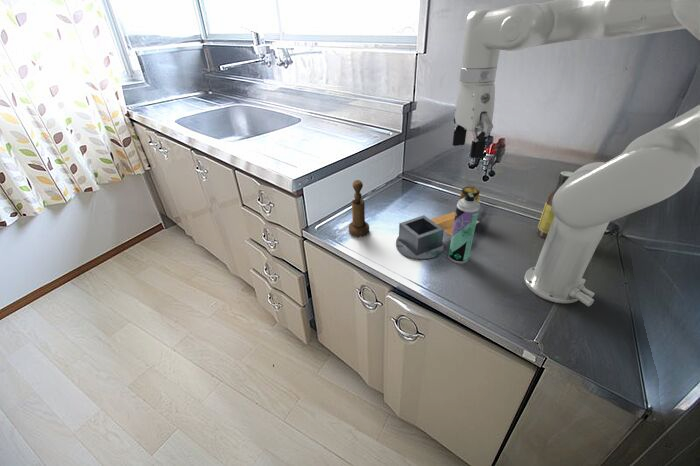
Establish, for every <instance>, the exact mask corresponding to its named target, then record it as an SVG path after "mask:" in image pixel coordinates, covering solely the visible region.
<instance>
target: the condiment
mask: <svg viewBox="0 0 700 466" xmlns="http://www.w3.org/2000/svg"><path fill="white" fill-rule="evenodd" d="M480 192H481V191H480V189H479V188H477V187H475V186H465V187H462V189H461V193H460V195H459V197H458V201H459V200H460V199H463V198H464V197H466V196H467V194H468V193H472V194H474V198H475V200H477V201H478V202H479V203H480ZM478 223H480V221H479V220H477V222H476V225H477V224H478Z"/></svg>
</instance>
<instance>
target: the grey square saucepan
mask: <svg viewBox="0 0 700 466" xmlns="http://www.w3.org/2000/svg"><path fill="white" fill-rule="evenodd" d="M455 214H456V211H452V212H450V213H446V214H442V215H440V216H437V217H435V218H434V217H433V218H432V219H431V218H429V217H427V216H426V215H420V216H417V217H415V218H411V219H409V220H406V221H403V222H400V223H398V224H399V226H398V236H397V238H396V241H395V247H396V251H398V252H399V254H400V255H402V256H403V257H406V258H407V259H411V260H415V261H431V260H434V259H436V258H439V257H440V256H441V255H442V254H443V252H444V248H445V247H444V246H445V244H444V241H443V239H444V232H445V233H446V234H448V235H449V236H450V237H452V231H453V225H454V220H455Z"/></svg>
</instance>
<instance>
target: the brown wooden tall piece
mask: <svg viewBox="0 0 700 466" xmlns="http://www.w3.org/2000/svg"><path fill="white" fill-rule="evenodd" d="M363 186H364V185H363V182H362V180H360V179H357V180H354V181H353V182H352V188H353V190H354V191H355V192H354V193H353V197H354V199H352V201H351V211H352V212H351V213H352V222H350V223H349V224H348V233H349V235H350V236H352V237H354V238H364V237H366V236H368V235H369V233H370V224H369V223H368V222H366V218H365V217H366V215H365V213H366V211H365V200H364V199H362V193H361V191H362V188H363Z"/></svg>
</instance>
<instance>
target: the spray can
mask: <svg viewBox="0 0 700 466" xmlns="http://www.w3.org/2000/svg"><path fill="white" fill-rule="evenodd" d="M480 205H481V204H480V201H479V202H478V201H477V200H475V198H474V194H472V193H468V194H467V196H466V197H464V198H463V199H460V200H459V199H458V201H457V204H456V209H455V213H456V214H455V220H454V225H453V231H452V236H450V244H449V250H448V259H449V260H450V261H451V262H453V263H456V264H465V263H467V262H468V261H469V259H470V254H471V249H472V244H473V241H474V236H475V231H476V226H477V224H476V222H477V221H478V217H479V211H480Z"/></svg>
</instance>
